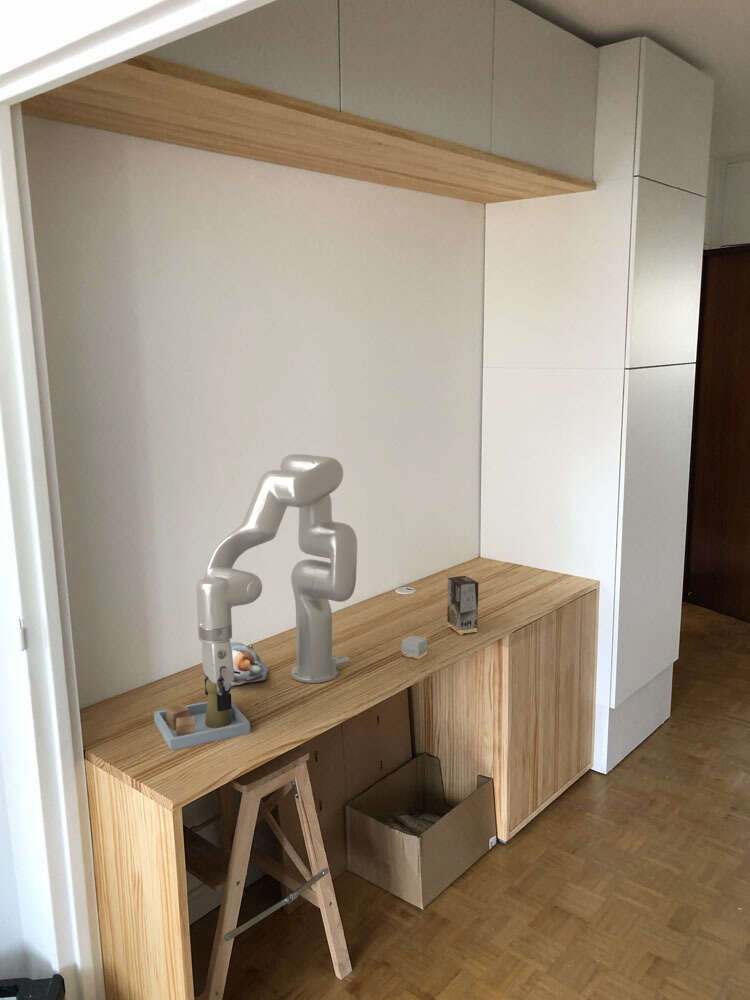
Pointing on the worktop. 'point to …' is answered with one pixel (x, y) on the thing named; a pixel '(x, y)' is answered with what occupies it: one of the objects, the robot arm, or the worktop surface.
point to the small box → (414, 646)
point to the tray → (201, 727)
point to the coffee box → (462, 602)
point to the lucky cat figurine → (247, 665)
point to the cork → (215, 708)
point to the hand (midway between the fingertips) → (218, 701)
